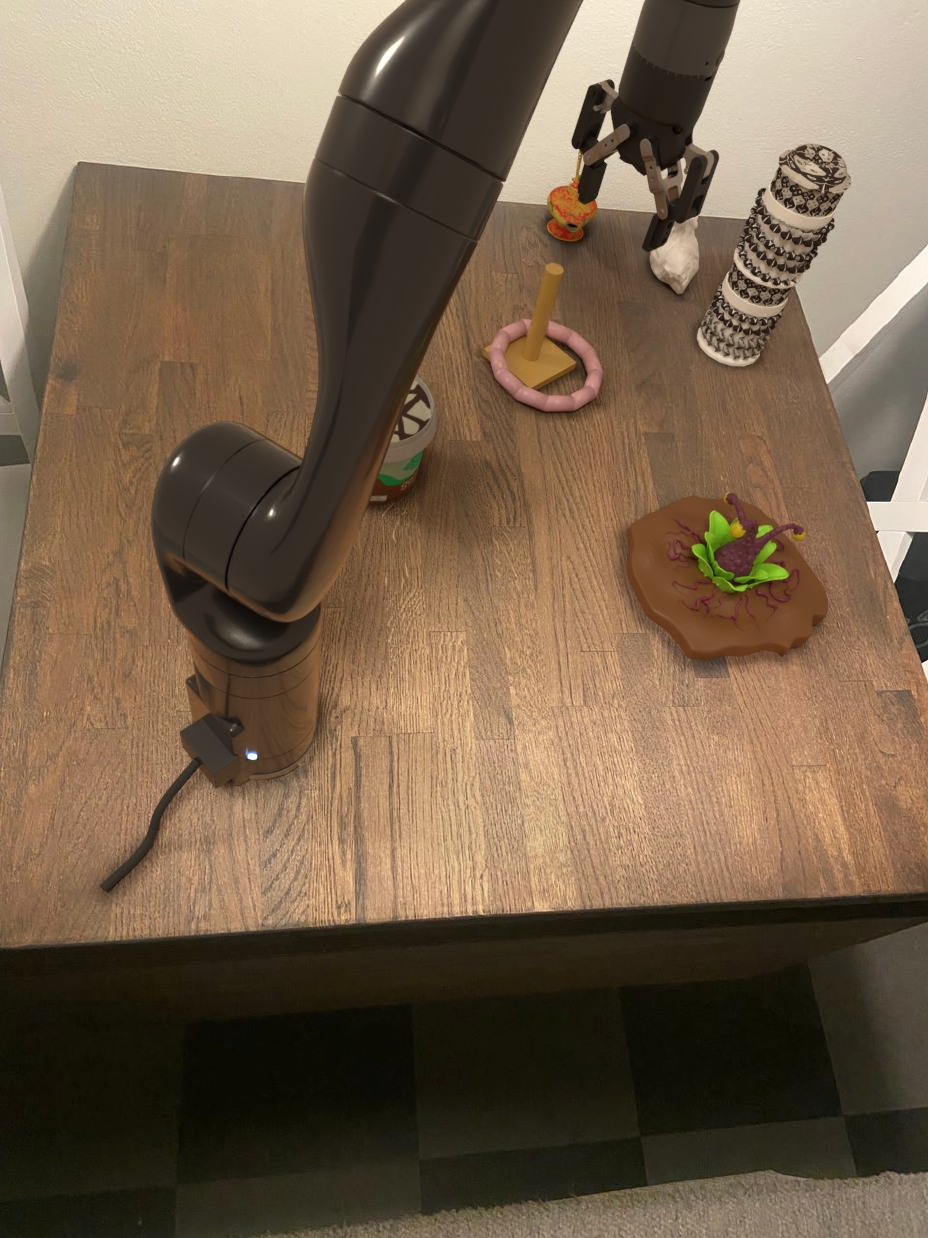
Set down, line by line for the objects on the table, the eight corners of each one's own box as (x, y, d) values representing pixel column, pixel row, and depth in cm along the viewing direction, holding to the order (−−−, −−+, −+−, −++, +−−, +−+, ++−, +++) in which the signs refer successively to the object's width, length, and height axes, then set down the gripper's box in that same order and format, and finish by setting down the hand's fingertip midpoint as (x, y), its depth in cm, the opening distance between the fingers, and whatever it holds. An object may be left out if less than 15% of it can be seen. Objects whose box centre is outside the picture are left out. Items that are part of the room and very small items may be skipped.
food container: (411, 529, 93) (423, 462, 84) (352, 514, 92) (359, 445, 84) (437, 444, 99) (451, 374, 91) (382, 430, 99) (391, 358, 91)
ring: (543, 432, 103) (548, 421, 102) (465, 353, 106) (468, 341, 105) (621, 385, 110) (626, 375, 108) (544, 312, 113) (549, 301, 111)
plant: (590, 531, 96) (623, 458, 87) (740, 493, 103) (785, 421, 94) (685, 690, 87) (733, 628, 78) (842, 637, 94) (903, 574, 85)
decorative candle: (733, 378, 114) (832, 192, 93) (679, 334, 117) (763, 145, 96) (776, 352, 118) (880, 169, 97) (723, 311, 121) (813, 124, 100)
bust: (663, 260, 129) (636, 189, 121) (717, 242, 125) (692, 167, 117) (658, 313, 122) (628, 241, 114) (714, 296, 118) (688, 220, 111)
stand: (528, 394, 106) (555, 302, 95) (482, 354, 109) (503, 259, 98) (574, 368, 110) (605, 276, 99) (528, 330, 112) (554, 236, 102)
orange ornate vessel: (533, 271, 119) (553, 192, 110) (545, 194, 129) (565, 116, 120) (584, 282, 119) (608, 205, 110) (592, 205, 129) (615, 128, 120)
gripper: (586, 15, 76) (540, 196, 89) (716, 100, 71) (647, 277, 85) (642, -1, 79) (591, 175, 93) (770, 79, 75) (696, 252, 88)
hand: (618, 224), depth 89 cm, fingers open, 8 cm apart
